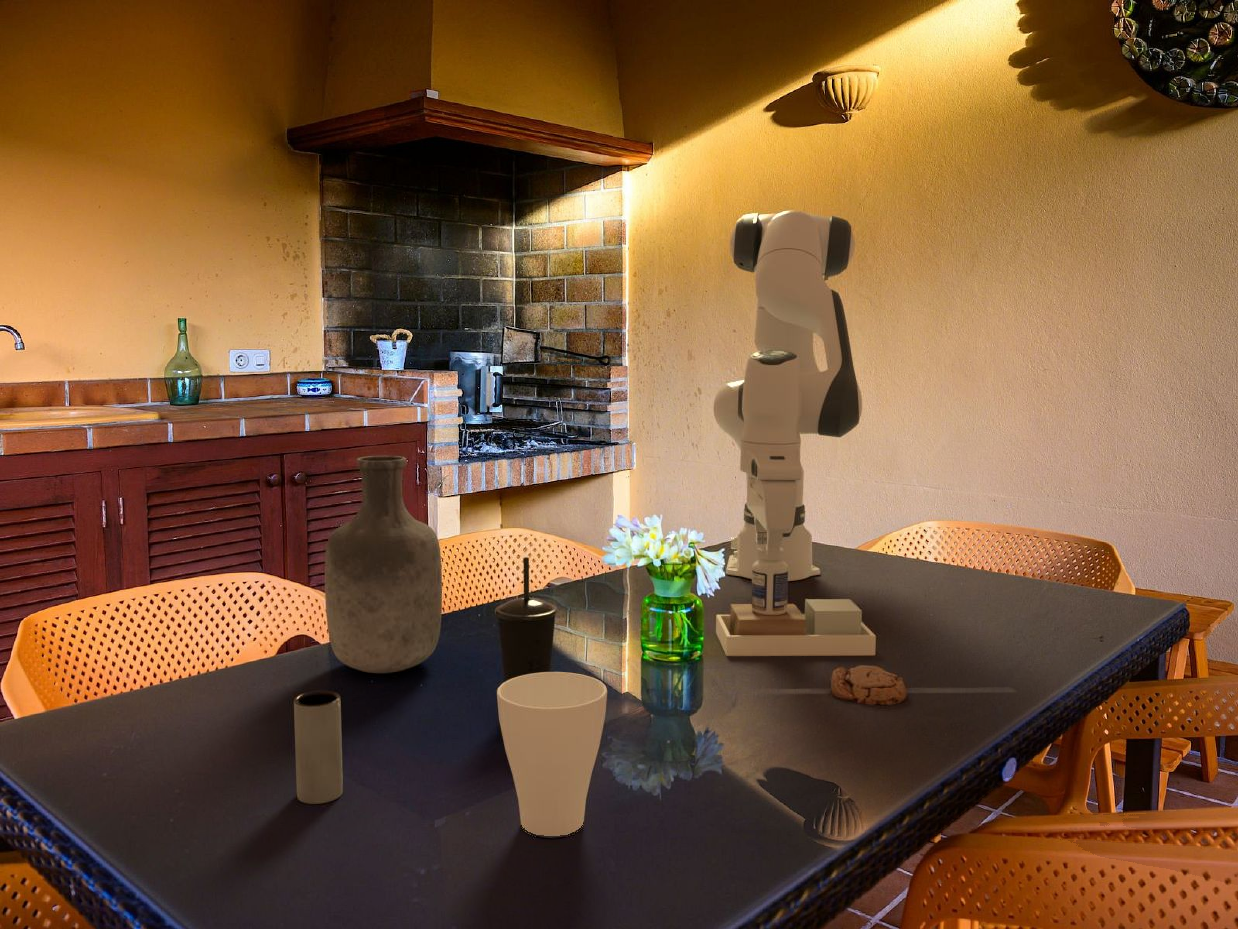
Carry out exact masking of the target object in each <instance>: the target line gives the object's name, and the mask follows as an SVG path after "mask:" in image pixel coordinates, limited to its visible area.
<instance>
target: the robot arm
mask: <svg viewBox="0 0 1238 929" xmlns="http://www.w3.org/2000/svg"><path fill="white" fill-rule="evenodd" d="M855 246H856V243H855V236H854V233H853V230H852V225H851V224H850V222H849V221H848V220H847V219H845V218H842V217H839V216H835V215H831V216H829V217H828V216H825V215H824V216H823V215H819V214H812V213H806V212H804V211H801V210H793V209H792V210H791V209H790V210H786V211H785V210H784V211H782V212H780V213H766V214H759V212H755V213H748V214H744V215H742V216H741V217H740V218H739V219H738V220H736V224H735V226H734V228H733V229H732V232H731V235H730V240H729V248H730V253H731V256H732V259H733V263H734V265H735V266H737V267H738V269H739V270H742V271H745V272H749V273H753V274H754V272H755V293H756V298H757V304H756V317H755V326H754V344H755V347H756V348H755V349H756V350H757V351H755V352H754V353H751V354H750V355H749V356H748V358H747V363H746V368H745V372H744V378H743V379H741V380H736V381H732V382H727V383H725V384H723V385H722V386H721V387H720V388H719V390H718V391H717V393H716V394H715V397H714V401H713V416H714V418H715V421H716V423H717V424H718V426H719V428H720V429H721V430H722V431H723V432H724V433H726V434H727V435H728V436H729V437H731V438H732V439H733V440H734V442H735V443H736V446H738V448H739V451H740V460H739V462H740V463H739V464H740V465H739V469H740V471H741V472H742V473H746V502H745V503H744V509H743V521H744V523H743V525H742V527H741V529H739V532H738V533H737V536H733V537H731V538H730V548H731V549H732V550H735V551H733V554H730V555H729V558H728V562H727V565H726V570H725V575H730V576H738V577H743V578H746V579H750V580H752V567H753V564H754V563H755V562H756V561H758V560H759V558H757V549H758V548H759V547H764V546H766V555H767V557H768V558H769V559H778V558H779V556H780V548H783V549H784V558H783V559H782V562H784V563H786V564H787V566H788V582H791V581H792V582H793V581H799V580H804V579H807V578H809V577H812V576H817V575H820V574H821V570H820V568H818V567H816V566H815V565H813V538H812V535H813V534H812V532H810V531H809V530H808V529H807V528H806V527H805V524H804V523H805V521H806V519H805V518H806V506H805V504H804V480H805V478H804V476H805V475H804V467H803V465H802V463H801V441H802V440H801V435H819V436H824V437H833V438H834V437H835V438H842V437H843V436H845V435H847V434H848V433H849V432H851V431H852V430H853V429H855V428H856V427H857V426H858V425H859V423H860V420H861V417H862V411H863V398H862V392H861V389H860V386H859V383H858V381H857V380H858V379H857V376H856V372H855V366H854V361H853V354H852V349H851V348H852V347H851V342H850V337H849V329H848V325H847V319H846V314H845V309H844V305H843V301H842V298H841V296H840V294H839V292H837V291H836V290H833V288H832V289H831V288H830V287H829V286H828V284H827V283H826V281H827V280H828V279H829V278H830V277H835V276H838V275H840V274H841V273H843V272H844V271H846V270H847V269H848V266H849V264H850V262H851V260H852V259H853V256H854V253H855ZM828 281H829V280H828ZM814 334H815V335H816V336H819V338H821V340H822V341H823V346H824V352H825V360H826V365H827V366H826V367H827V369H826V370H823V371H820V369H819V367H818V365H817V361H816V359H815V353H814Z"/></svg>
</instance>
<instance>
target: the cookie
mask: <svg viewBox="0 0 1238 929" xmlns="http://www.w3.org/2000/svg"><path fill="white" fill-rule="evenodd" d="M830 686H831V687H830V691H831V693H832V695H833V696H835V697H836V698H839V699H841V700H847V701H853V702H854V701H855V702H857V703H858V704H865V705H870V706H871V705H872V706H873V705H874V706H875V705H880V706H881V705H883V706H884V705H885V706H887V705H888V706H892V705H895V704H900V703H902V702H903V701H905V700H906V698H907V688H906V686H905V683H904V681H903V678H902V677H899V676H898V675H897V674H894V673H891V672H889V671H886V670H884V669H883V668H882V667H879V666H877V665H863V664H861V665H857V666H856V667H851V668H849V670H848V669H846V668H845V667H843V666H842V667H837V668H836V669H835V670H833V671H832V673H831V679H830Z"/></svg>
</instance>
